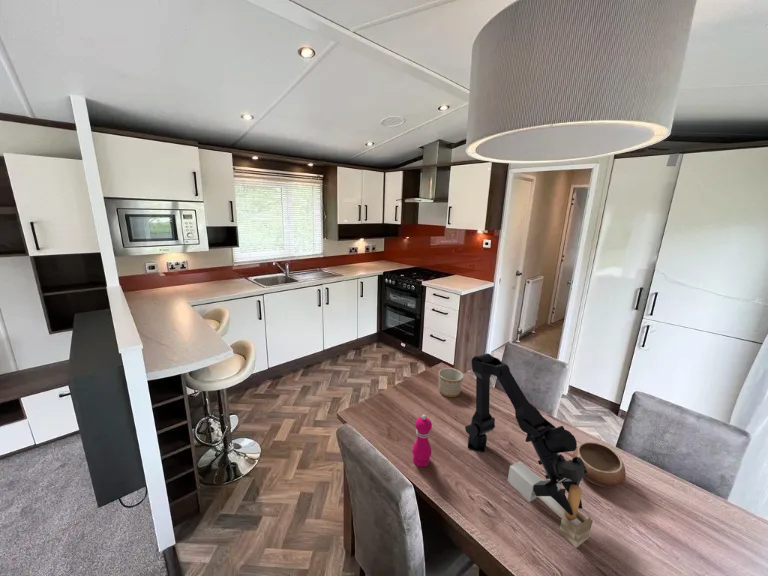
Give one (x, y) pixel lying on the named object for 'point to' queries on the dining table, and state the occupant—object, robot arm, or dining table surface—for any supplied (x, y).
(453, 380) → the planter
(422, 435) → the pepper mill
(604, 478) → the bowl
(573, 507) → the multicoloured piece
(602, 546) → the dining table surface
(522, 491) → the outer sleeve
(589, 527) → the end socket
